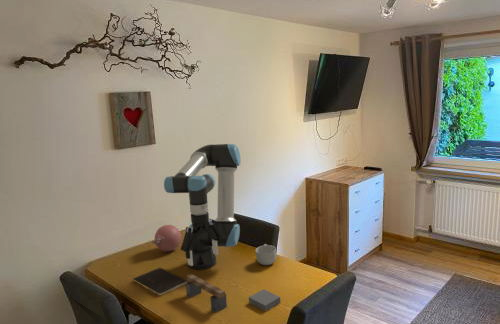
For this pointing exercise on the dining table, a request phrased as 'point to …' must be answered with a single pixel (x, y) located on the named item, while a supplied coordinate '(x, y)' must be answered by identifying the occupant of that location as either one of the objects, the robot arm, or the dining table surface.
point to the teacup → (266, 254)
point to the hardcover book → (160, 281)
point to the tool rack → (215, 301)
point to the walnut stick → (206, 286)
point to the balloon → (167, 238)
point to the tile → (264, 300)
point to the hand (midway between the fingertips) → (203, 259)
